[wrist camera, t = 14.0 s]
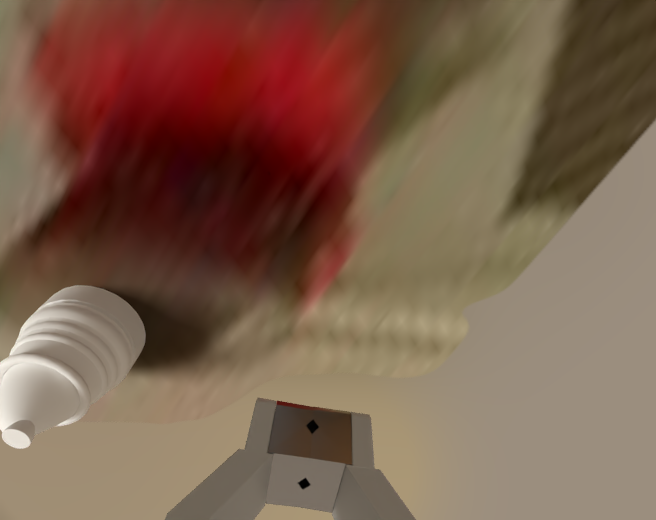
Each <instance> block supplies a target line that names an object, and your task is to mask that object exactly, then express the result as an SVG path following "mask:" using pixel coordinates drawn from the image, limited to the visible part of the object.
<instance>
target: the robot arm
mask: <svg viewBox="0 0 656 520" xmlns="http://www.w3.org/2000/svg"><path fill="white" fill-rule="evenodd" d="M275 408H276V409H275ZM265 503H267V504H276V505H285V506H294V507H301V508H307V509H313V510H319V511H325V512H331V513H332V516H333V518H334V520H416V519H415V518H414V516H413V515H412V514H411V512H410V511H409V509H408V508H407V507H406V505H405V504H404V502H403V501H402V500H401V499H400V497H399V496H398V494H397V493H396V491H395V490H394V489H393V487H392V486H391V484H390V483H389V482H388V480H387V479H386V477H385V476H384V475H383V473H382V472H381V471H380V470H378V469H374V455H373V441H372V427H371V417H370V415H368V414H360V413H353V412H351V413H350V412H347V411H340V410H333V409H326V408H319V407H310V406H304V405H298V404H293V403H287V402H282V401H277V404H276V401H274V400H268V399H263V398H258V399H257V401H256V404H255V408H254V412H253V416H252V420H251V425H250V429H249V433H248V438H247V441H246V446H245V450H241V449H238V450H237V451H236V452H235V453H234V454H233V455H232V456H231V457H229V458H228V459H227V460H226V461H225V462H224V463H223V464H222V465H221V466H220V467H218V468H217V469H216V470H215V471H214V472H213V473H212V474H211V475H210V476H208V477H207V478H206V479H205V480H204V481H203V482H202V483H201V484H200V485H198V486H197V487H196V488H195V489H194V490H193V491H192V492H191V493H190V494H188V495H187V496H186V497H185V498H184V499H183V500H182V501H181V502H180V503H178V504H177V505H176V506H175V507H174V508H173V509H172V510H171V511H170V512H168V513H167V516H166V518H165V520H254V519H255V517H256V516H257V515H258V514H259V512H260V511H261V510H262V509H263V507H264V506H265Z"/></svg>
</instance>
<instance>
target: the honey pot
mask: <svg viewBox="0 0 656 520" xmlns="http://www.w3.org/2000/svg"><path fill="white" fill-rule="evenodd" d="M145 338H146V333H145V329H144V325H143V322H142V320H141V319H140V317H139V315H138V313H137V312H136V311H135V310H134V309H133V308H132V307H131V306H130V305H129V303H127V302H126V301H125V300H123V299H122V298H120V297H119V296H118V295H116V294H114V293H111V292H109V291H107V290H105V289H102V288H97V287H93V286H72V287H68V288H64V289H62V290H60V291H59V292H57V293H55V294H54V295H53V296H52V297H51V298H50V299H49V300H47V301H46V302H45V303H44V304H43V305H42V306H41V307H40V308H39V309H38V310H37V311H35V313H34V314H33V315H32V316H30V317H29V318H28V320H27V321H26V322H25V323H24V325H23V326H22V328H21V330H20V333H19V337H18V338H17V340H16V343H15V346H14V347H13V348H12V349H11V352H10V356H9V357H8V358H6V359H4V360H2V361H1V362H0V430H1V431H2V439H3V440H4V441H5V443H7V444H8V445H10V446H12V447H14V448H21V449H22V448H27V447H28V446H29V445H30V444H31V442H32V440H33V438H34V436H35V435H36V434H39V433H41V432H44V431H46V430H48V429H50V428H52V427H54V426H63V425H68V424H72V423H74V422H76V421H78V420H80V419H81V418H82V417H83V416H84V415H85V414H86V413H87V411H88V409H89V407H90V405H91V404H93V403H95V402H97V401H98V400H99V399H100V398H101V397H102V396H104V395H105V394H106V393H107V392H108V391H110V390H112V389H114V388H115V387H116V386H117V385H118V384H119V383H120V382H121V381H123V380H124V379H125V377H126V375H127V374H128V372H129V370H130V369H131V368H132V366H133V364H134V363H135V361H136V360H137V358H138V357H139V355H140V353H141V351H142V349H143V347H144V345H145Z"/></svg>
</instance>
